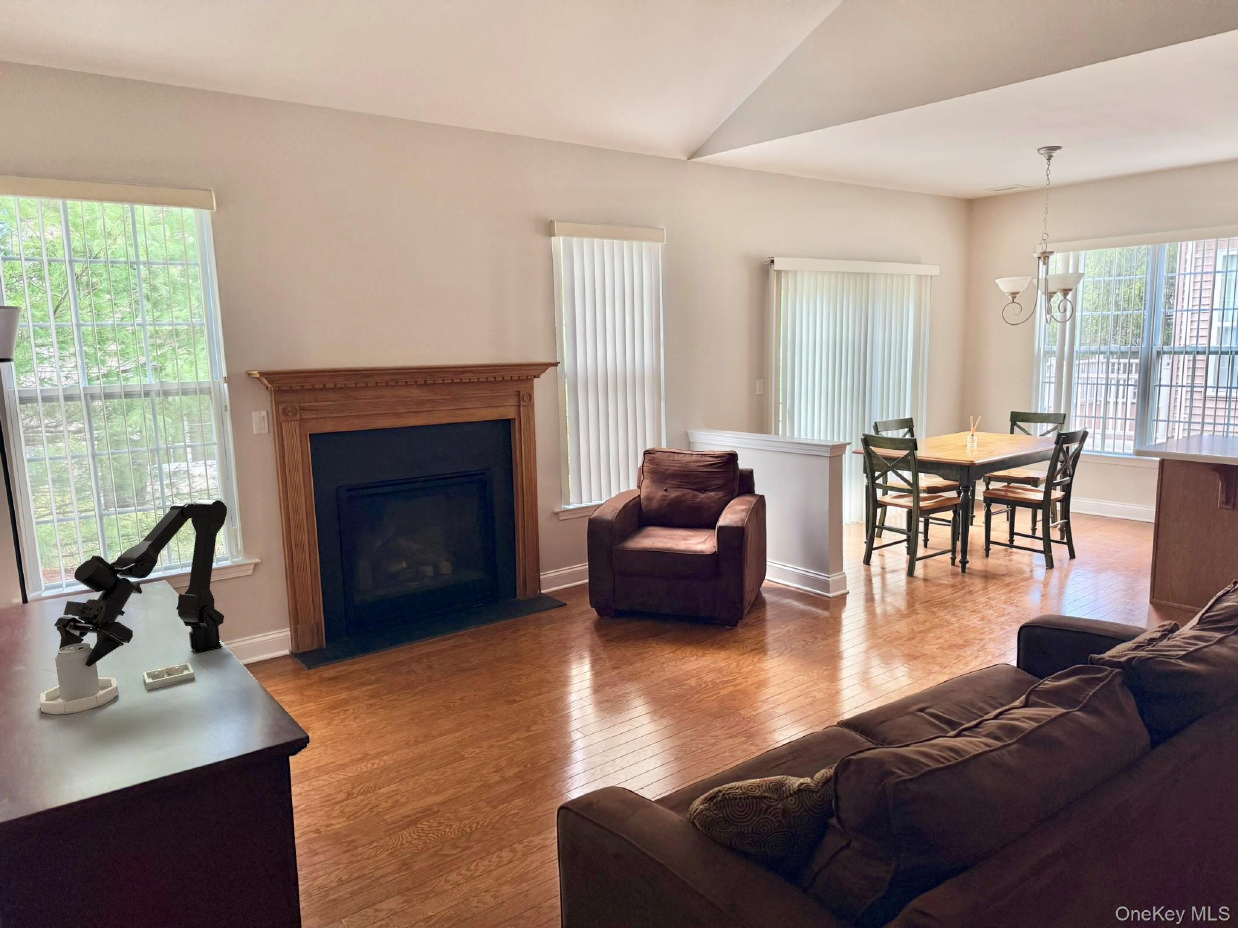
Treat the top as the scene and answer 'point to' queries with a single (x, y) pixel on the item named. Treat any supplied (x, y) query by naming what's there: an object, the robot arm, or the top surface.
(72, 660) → the can
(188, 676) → the pebble tray
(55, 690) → the bowl
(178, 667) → the pebbles
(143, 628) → the top surface
